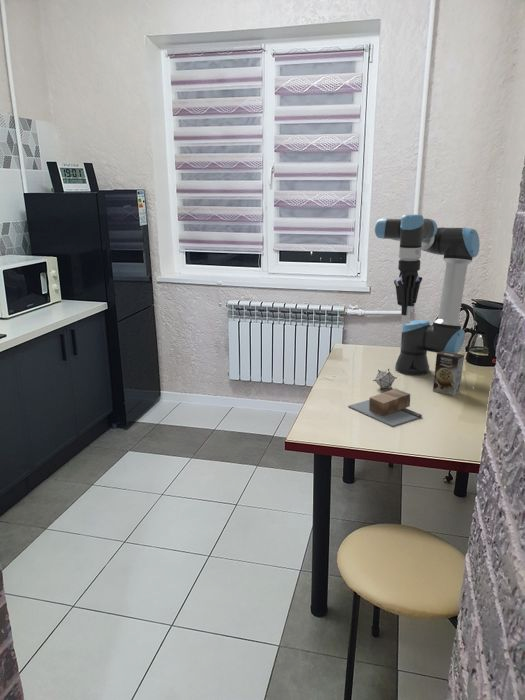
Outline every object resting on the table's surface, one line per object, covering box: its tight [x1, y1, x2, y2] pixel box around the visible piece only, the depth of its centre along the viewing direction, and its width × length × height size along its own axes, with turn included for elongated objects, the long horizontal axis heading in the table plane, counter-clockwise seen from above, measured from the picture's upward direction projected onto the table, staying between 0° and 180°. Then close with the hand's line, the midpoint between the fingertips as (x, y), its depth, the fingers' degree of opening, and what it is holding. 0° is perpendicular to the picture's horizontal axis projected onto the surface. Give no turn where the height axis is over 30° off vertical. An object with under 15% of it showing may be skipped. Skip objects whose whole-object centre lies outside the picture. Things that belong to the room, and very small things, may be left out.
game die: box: [372, 368, 398, 390], centre depth 213 cm, size 9×8×10 cm
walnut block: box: [368, 388, 411, 416], centre depth 190 cm, size 5×7×14 cm
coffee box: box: [432, 351, 465, 397], centre depth 208 cm, size 9×6×16 cm
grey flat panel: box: [348, 399, 423, 428], centre depth 189 cm, size 15×22×1 cm
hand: (405, 323), depth 191 cm, fingers closed
